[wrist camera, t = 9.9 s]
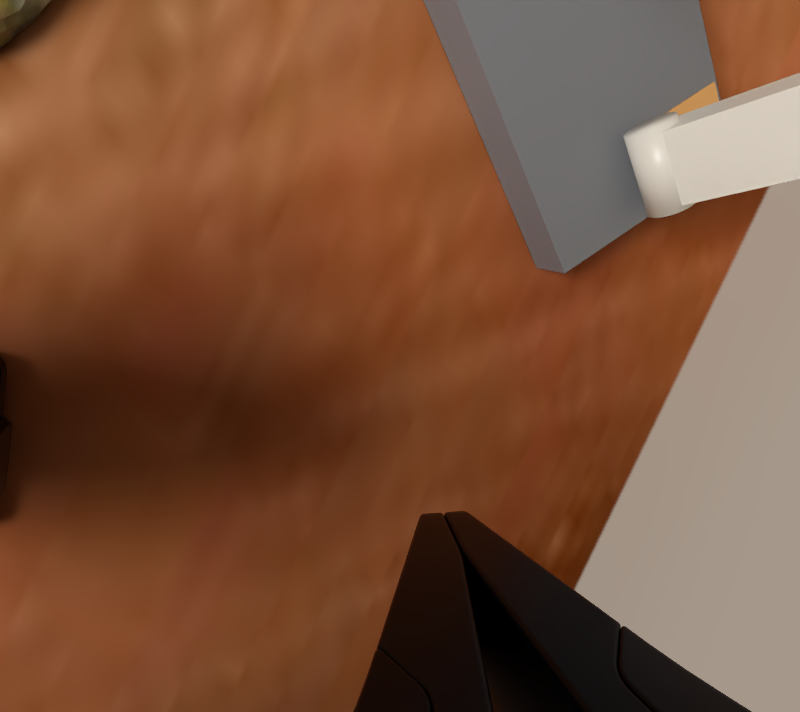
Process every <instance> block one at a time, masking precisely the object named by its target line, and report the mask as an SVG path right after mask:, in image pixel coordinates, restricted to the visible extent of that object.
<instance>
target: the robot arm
mask: <svg viewBox="0 0 800 712" xmlns="http://www.w3.org/2000/svg"><path fill="white" fill-rule="evenodd" d="M6 372H7V368H6V364H5V362H4V361H3V359H2V358H0V494H1V493H2V492H3V490H4V489H5V486H6V478H7V468H8V458H9V448H10V438H11V429H12V423H11V422H10V421H9V420H8V418H7V417H6V416H2V413H3V403H4V392H5V382H6ZM353 712H751V711H750V710H748V709H747V708H745V707H743V706H742V705H740V704H739V703H737V702H735V701H734V700H732V699H731V698H729V697H728V696H726V695H725V694H723V693H721V692H720V691H718V690H717V689H715V688H714V687H712V686H711V685H709V684H707V683H706V682H704V681H703V680H701V679H700V678H698V677H697V676H695V675H693V674H692V673H690V672H689V671H687V670H686V669H684V668H683V667H682V666H680V665H679V664H677V663H676V662H674V661H673V660H671V659H670V658H668V657H667V656H666V655H664V654H663V653H661V652H660V651H658V650H657V649H656V648H654V647H653V646H651V645H650V644H648V643H647V642H646V641H644V640H643V639H642V638H640V637H639V636H637V635H636V634H635V633H633V632H632V631H631V630H629V629H628V628H627V627H625V626H623V627H621V629H620V624H619V623H618V622H617V621H616V620H614V619H613V618H611V617H610V616H609V615H607V614H606V613H605V612H603V611H602V610H601V609H599V608H598V607H596V606H595V605H593V604H592V603H591V602H589V601H588V600H587V599H585V598H584V597H583V596H581V595H580V594H579V593H577V592H576V591H575V590H573V589H572V588H570V587H569V586H568V585H566V584H565V583H564V582H562V581H561V580H559V579H558V578H557V577H555V576H554V575H553V574H551V573H550V572H549V571H547V570H546V569H544V568H543V567H542V566H540V565H539V564H538V563H536V562H535V561H533V560H532V559H531V558H529V557H528V556H527V555H525V554H524V553H523V552H521V551H520V550H518V549H517V548H516V547H514V546H513V545H512V544H510V543H509V542H507V541H506V540H505V539H503V538H502V537H501V536H499V535H498V534H497V533H495V532H494V531H492V530H491V529H490V528H488V527H487V526H486V525H484V524H483V523H481V522H480V521H479V520H477V519H476V518H475V517H473V516H472V515H471V514H469V513H467V512H465V511H458V512H447V513H445V514H444V515H443V514H442V513H429V514H422V515H421V516H420V518H419V521H418V524H417V527H416V530H415V533H414V536H413V539H412V542H411V545H410V548H409V552H408V555H407V558H406V561H405V564H404V567H403V570H402V573H401V576H400V579H399V582H398V585H397V588H396V591H395V594H394V597H393V600H392V603H391V606H390V610H389V613H388V616H387V619H386V622H385V625H384V628H383V631H382V634H381V637H380V640H379V643H378V646H377V650H376V651H375V654H374V657H373V660H372V663H371V666H370V669H369V672H368V674H367V677H366V680H365V682H364V685H363V688H362V690H361V693H360V696H359V699H358V701H357V704H356V706H355V709H354V711H353Z"/></svg>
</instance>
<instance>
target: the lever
mask: <svg viewBox="0 0 800 712" xmlns="http://www.w3.org/2000/svg"><path fill="white" fill-rule="evenodd" d="M623 137H624V141H625V144H626V147H627V150H628V154H629V157H630V160H631V163H632V167H633V170H634V173H635V177H636V180H637V183H638V186H639V190H640V193H641V196H642V200H643V203H644V206H645V209H646V213H647V215H648V217H651V218H661V217H666V216H670V215H673V214H676V213H679V212H681V211H684V210H686V209H688V208H689V207H691V206H693V205H694V204H695V203H696V202H701V201H705V200H709V199H714V198H718V197H723V196H727V195H732V194H736V193H740V192H745V191H749V190H754V189H758V188H762V187H767V186H771V185H775V184H780V183H784V182H789V181H793V180H797V179H800V73H797V74H795V75H792V76H789V77H786V78H783V79H780V80H778V81H775V82H772V83H769V84H766V85H763V86H761V87H758V88H755V89H752V90H749V91H747V92H744V93H741V94H738V95H735V96H732V97H730V98H727V99H724V100H721V101H718V102H715V103H713V104H710V105H707V106H704V107H701V108H698V109H696V110H693V111H690V112H687V113H684V114H682V115H679V116H678V112H668V113H665V114H661V115H658V116H656V117H653V118H651V119H648V120H646V121H644V122H642V123H640V124H638V125H636V126H635V127H633V128H631V129H630V130H628V131H627V132H626V133H625V134H624V135H623Z"/></svg>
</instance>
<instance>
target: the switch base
mask: <svg viewBox="0 0 800 712" xmlns="http://www.w3.org/2000/svg"><path fill="white" fill-rule="evenodd" d="M423 1H424V3H425V5H426V8H427V10H428V12H429V15H430V17H431V19H432V22H433V24H434V27H435V29H436V31H437V34H438V36H439V38H440V41H441V43H442V45H443V48H444V50H445V53H446V55H447V57H448V60H449V62H450V64H451V67H452V69H453V71H454V74H455V76H456V79H457V81H458V83H459V86H460V88H461V90H462V93H463V95H464V97H465V100H466V102H467V105H468V107H469V109H470V112H471V114H472V116H473V119H474V121H475V123H476V126H477V128H478V130H479V133H480V135H481V138H482V140H483V142H484V145H485V147H486V149H487V152H488V154H489V156H490V159H491V161H492V164H493V166H494V168H495V171H496V173H497V175H498V178H499V180H500V182H501V185H502V187H503V190H504V192H505V194H506V197H507V199H508V201H509V204H510V206H511V208H512V211H513V213H514V216H515V218H516V220H517V223H518V225H519V227H520V230H521V232H522V234H523V237H524V239H525V242H526V244H527V246H528V249H529V251H530V253H531V256H532V258H533V260H534V263H535V265H536V268H540V269H545V270H550V271H555V272H560V273H566V272H568V271H569V270H571V269H572V268H574V267H575V266H577V265H578V264H579V263H581V262H582V261H584V260H585V259H587V258H588V257H590V256H591V255H593V254H594V253H596V252H597V251H599V250H600V249H602V248H603V247H605V246H606V245H607V244H609V243H610V242H612V241H613V240H615V239H616V238H618V237H619V236H621V235H622V234H624V233H625V232H627V231H628V230H630V229H631V228H633V227H634V226H635V225H637V224H638V223H640V222H641V221H643V220H644V219H646V218H647V217H648V215H647V213H646V209H645V206H644V203H643V200H642V196H641V193H640V190H639V186H638V183H637V180H636V177H635V173H634V170H633V167H632V163H631V160H630V157H629V154H628V150H627V147H626V144H625V141H624V137H623V135H624V134H625V133H626V132H627V131H628V130H630V129H631V128H633V127H635V126H636V125H638V124H640V123H642V122H644V121H646V120H648V119H651V118H653V117H656V116H658V115H661V114H665V113H668V112H678V116H679V115H682V114H684V113H687V112H690V111H693V110H696V109H698V108H701V107H704V106H707V105H710V104H713V103H715V102H718V101H721V100H720V96H719V91H718V86H717V82H716V77H715V73H714V68H713V63H712V59H711V54H710V50H709V45H708V41H707V36H706V31H705V27H704V22H703V18H702V13H701V8H700V4H699V0H423Z"/></svg>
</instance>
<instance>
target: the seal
mask: <svg viewBox="0 0 800 712" xmlns="http://www.w3.org/2000/svg"><path fill="white" fill-rule="evenodd" d="M50 1H51V0H0V48H1V47H2V46H4V45H5V44H6V43H8V42H9V41H10V40H11V39H12V38H13V37H14V36H15V35H16V34H17V33H18V32H19V31H21V30H23V29H24V28H25V27H26V26H28V25H29V24H31V23H32V22H34V21H35V20H36V18H37V17H38V16H39V14H40V13H41V12H42V10H43V9H44V7H45V6H46V5H47V4H48V3H49V2H50Z"/></svg>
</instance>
